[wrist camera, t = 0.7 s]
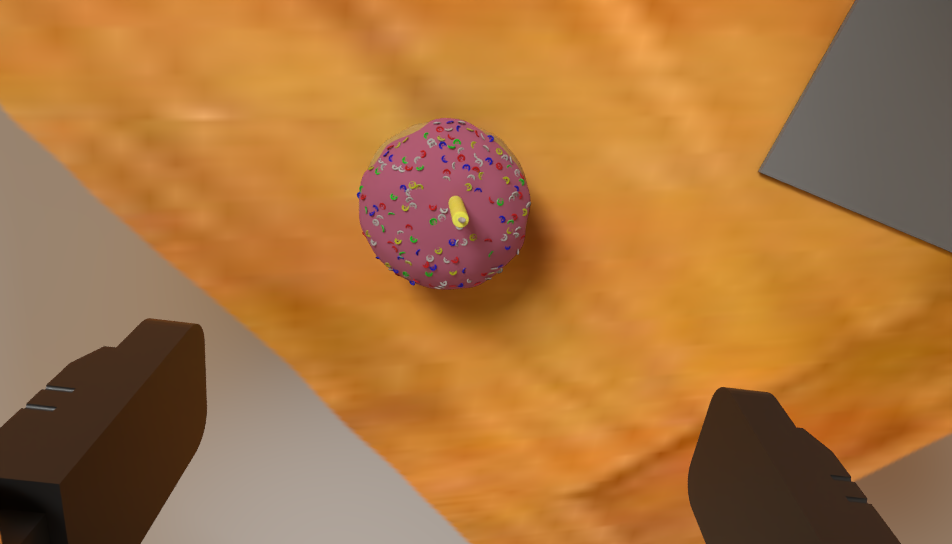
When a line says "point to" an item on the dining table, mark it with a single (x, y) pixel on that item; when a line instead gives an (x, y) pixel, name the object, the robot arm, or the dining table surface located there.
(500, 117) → the dining table surface
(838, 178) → the mat
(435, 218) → the cupcake
